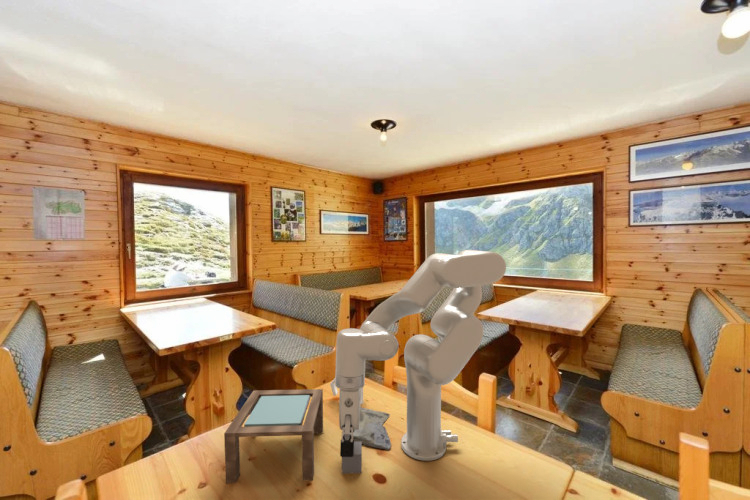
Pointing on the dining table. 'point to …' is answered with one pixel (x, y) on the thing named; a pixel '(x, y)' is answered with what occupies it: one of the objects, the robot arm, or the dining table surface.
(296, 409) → the trapdoor
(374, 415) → the fossil rock
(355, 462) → the gray cube
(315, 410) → the trapdoor frame
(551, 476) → the dining table surface
